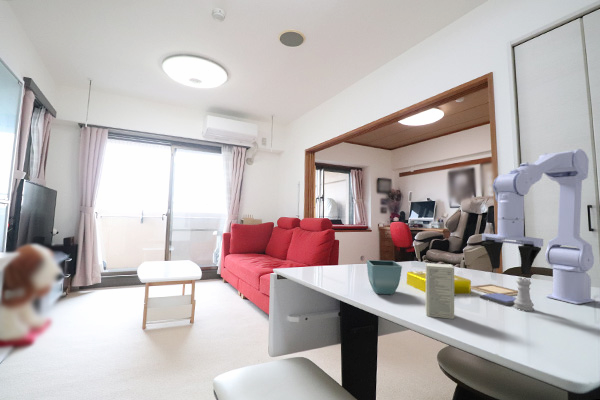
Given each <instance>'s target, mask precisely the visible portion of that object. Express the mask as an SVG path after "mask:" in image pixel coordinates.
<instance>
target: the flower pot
mask: <svg viewBox="0 0 600 400" xmlns="http://www.w3.org/2000/svg"><path fill="white" fill-rule="evenodd" d="M366 269H367V277H368V282H369V283H370V286H371V288H372V290H373V291H374V293H375V294H378V295H394V294H395V293H396V291H397V289H398V288H399V285H400V281H401V276H402V270H403V266H402V265H400V264H399V263H398V262H396V261H394V260H377V259H376V260H373V259H372V260H371V259H370V260H369V259H368V260H366Z"/></svg>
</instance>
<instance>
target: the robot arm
mask: <svg viewBox="0 0 600 400" xmlns="http://www.w3.org/2000/svg"><path fill="white" fill-rule="evenodd" d="M589 162H590V160H589V157H588V155H587V152H585V150H584V149H582V148H578V149H575V150H565V151H560V152H559V151H558V152H552V153H547V152H546V153H543V154H541V155H539V157H538V159H537V160H536V161H534V162H531V163H530V162H522V163H520V164H519V167H517V168H513V169H511V170H509V171H510V172H509V173H506V174H499V175H498V176H497V177H496V178H494V181H493V184H491V186H492V191H493V192H494V195H495V198H494V199H495V201H496V202H497V234H496V233H495V234H494V233H481V241H483V242H482V246H483V248H484V249H485V251H486V252H487V255H488V258H489V261H490V264H491V269H494V270H496V269H500V266H501V253H502V248H503V244H504V243H505V244H512V245H514V244H515V245H518V246H517V248H518V251H519V255H520V273H521V275H524V276H525V275H530V274H531V270H532V267H533V263H534V261H535V259H536V258H537V256H538V255H539V254H540V252H541V251H542V248H543V247H544V238H538V237H531V236H530V237H529V236H525V234H524V232H525V230H524V229H525V226H524V225H525V222H524V221H525V220H524V219H525V209H524V208H525V195H527V194H528V193H529V191H530V188H531V187H532V186H533V185H534V184H536V183H537V182H539V181H540V180H541V179H542V178H543V174H544V176H546V177H548V178H549V180H551V181H553V182H557V183H558V185H559V193H558V194H559V195H558V196H559V197H558V198H559V199H558V220H557V221H558V222H557V235H556V236H555V237H553V238H552V239H550V240H549V241H548V242H547V248H546V250H545V255H544V258H545V261H546V262H547V264H548V265H549V267H550V268H552V294H546V295H545V297H546V298H549V299H550V298H551V299H554V300H559V301H563V302H565V303H571V304H575V305H581V304H585V303H593V302H595V301H596V300H595V299H593V298H592V293H591V292H592V282H591V281H592V280H591V277H590V275H589V274H588V271H590V270H591V269H592V268H593V266H594V263H595V256H594V253H593V247H592V244H590V242H588V241H586V240H585V239H583V238H582V237H581V235H580V233H581V215H582V214H581V211H582V190H583V189H582V186H583V185H582V184H583V183H582V182H583V181H584V180H586V179H588V177H589Z"/></svg>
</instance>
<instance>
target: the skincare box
mask: <svg viewBox="0 0 600 400" xmlns="http://www.w3.org/2000/svg"><path fill="white" fill-rule="evenodd" d="M425 271H426V293H425V314H426V316H427V317H434V318H443V319H451V320H454V319H455V294H454V275H455V267H454V265H453V264H451V263H450V264H449V263H447V264H445V263H434V262H433V263H432V262H431V263H430V262H425Z"/></svg>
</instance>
